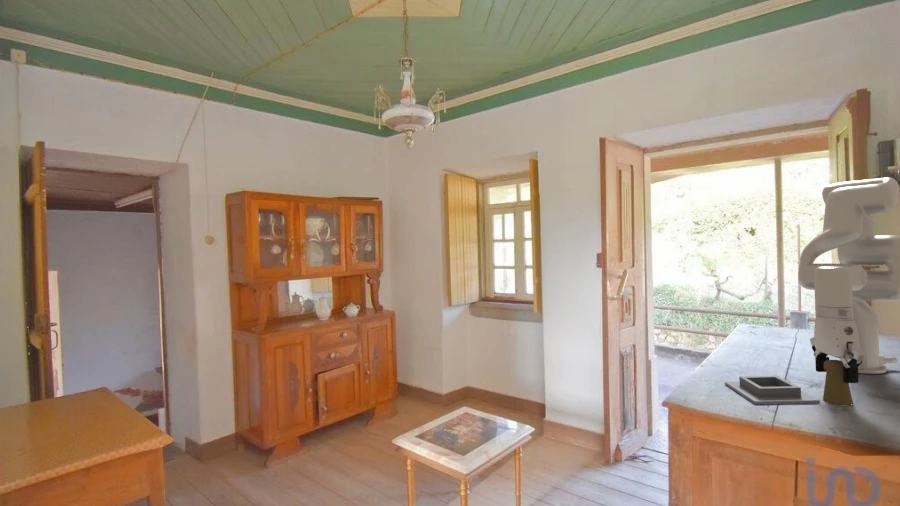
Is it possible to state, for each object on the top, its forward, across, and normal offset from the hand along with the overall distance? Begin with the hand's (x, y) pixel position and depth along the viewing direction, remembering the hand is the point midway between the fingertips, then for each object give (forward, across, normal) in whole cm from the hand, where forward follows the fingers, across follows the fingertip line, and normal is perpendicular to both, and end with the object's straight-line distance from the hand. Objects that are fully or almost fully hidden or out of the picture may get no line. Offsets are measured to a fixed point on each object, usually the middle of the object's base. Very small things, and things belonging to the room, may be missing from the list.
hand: (836, 376), depth 115 cm
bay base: (+7, +8, +12) cm, 16 cm away
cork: (+7, 0, 0) cm, 7 cm away
